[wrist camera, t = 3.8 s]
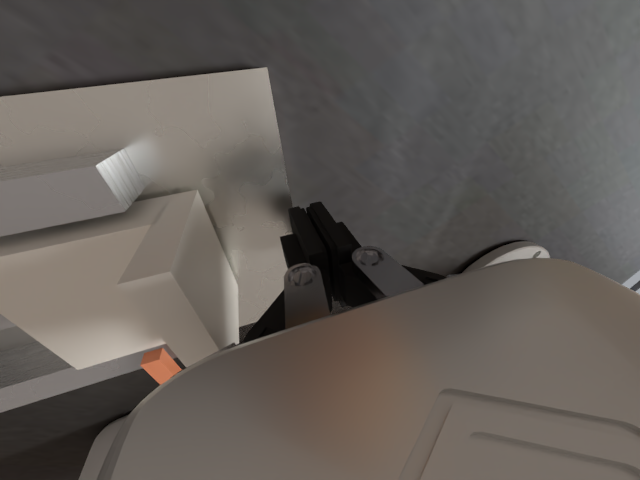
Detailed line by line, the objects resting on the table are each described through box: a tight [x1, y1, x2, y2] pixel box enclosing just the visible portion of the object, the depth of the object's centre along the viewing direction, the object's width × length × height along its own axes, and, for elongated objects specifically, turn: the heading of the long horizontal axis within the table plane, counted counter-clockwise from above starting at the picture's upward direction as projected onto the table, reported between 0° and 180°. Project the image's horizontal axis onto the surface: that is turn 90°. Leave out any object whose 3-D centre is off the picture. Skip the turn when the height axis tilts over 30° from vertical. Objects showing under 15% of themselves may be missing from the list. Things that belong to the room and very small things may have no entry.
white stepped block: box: [0, 190, 239, 385], centre depth 10 cm, size 10×10×6 cm
